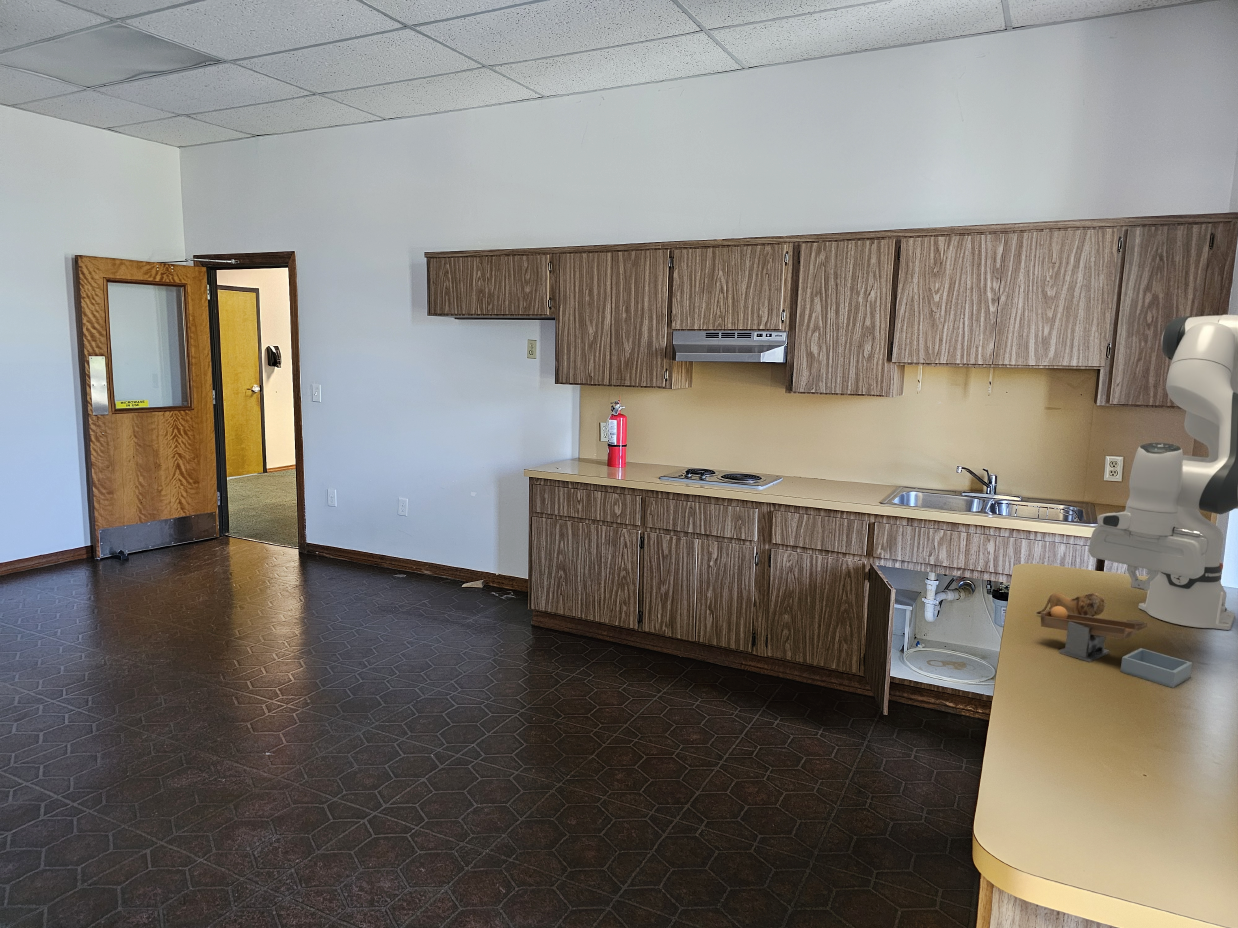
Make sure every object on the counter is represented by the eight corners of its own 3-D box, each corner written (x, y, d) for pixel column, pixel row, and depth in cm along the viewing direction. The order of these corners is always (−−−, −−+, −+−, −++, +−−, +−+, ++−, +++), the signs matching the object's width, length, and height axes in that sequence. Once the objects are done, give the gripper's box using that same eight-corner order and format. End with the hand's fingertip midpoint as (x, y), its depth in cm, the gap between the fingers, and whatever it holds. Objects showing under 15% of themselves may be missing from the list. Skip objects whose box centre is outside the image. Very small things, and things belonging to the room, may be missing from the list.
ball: (1054, 618, 174) (1054, 603, 173) (1070, 621, 171) (1070, 606, 171) (1047, 620, 172) (1047, 605, 171) (1063, 623, 169) (1063, 608, 169)
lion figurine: (1106, 632, 181) (1111, 594, 180) (1094, 636, 178) (1099, 597, 177) (1041, 613, 193) (1045, 577, 192) (1029, 617, 190) (1033, 580, 188)
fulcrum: (1078, 644, 173) (1082, 613, 172) (1109, 653, 168) (1113, 621, 167) (1059, 652, 167) (1062, 621, 166) (1089, 662, 162) (1093, 629, 161)
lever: (1068, 615, 179) (1068, 602, 179) (1149, 627, 166) (1149, 613, 166) (1041, 626, 171) (1040, 612, 171) (1124, 639, 159) (1123, 624, 159)
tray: (1138, 662, 164) (1140, 647, 163) (1190, 677, 157) (1192, 662, 156) (1120, 671, 158) (1122, 656, 158) (1172, 687, 151) (1175, 672, 151)
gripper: (1215, 531, 157) (1204, 600, 159) (1102, 512, 173) (1094, 575, 175) (1204, 534, 153) (1193, 604, 155) (1089, 514, 170) (1081, 578, 171)
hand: (1139, 588), depth 165 cm, fingers closed
